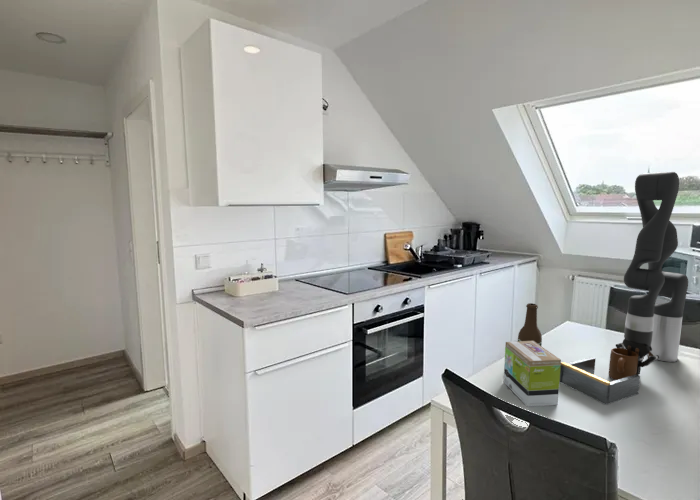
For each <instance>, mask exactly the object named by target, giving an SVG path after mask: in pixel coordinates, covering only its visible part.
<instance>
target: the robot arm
mask: <svg viewBox="0 0 700 500" xmlns="http://www.w3.org/2000/svg"><path fill="white" fill-rule="evenodd" d="M679 189H680V176H679V175H678V173H676V171H658V172H645V173H641V174H638V175H637V177H636V178H635V182H634V192H635V197H636V201H637V205H638V208H639V212H640V217H641V222H642V223H641V224H642V228H641V230H640V231H639V232H638V235H637V237H636V241H635V242H636V243H635V248H634V254H633V257H632V260H631V262H630V263H629V266H628V267H627V269H626V271H625V272H624V273H625V274H624V275H623V283H624V285H625V286H626V287H627V288H629V289H632V290H633V289H635V290H642V291H648V292H647V293H646V294H644V295H641V294H640V295H639V294H638V295H631V296H630V297H629V298H628V301H627V302H628V303H627V304H628V305H627V313H626V317H625V322H624V323H625V324H624V332H623V333H624V334H623V335H624V337H623V340H622V342H620V343H617V344H615V348H623V349H628V356H632V351H634V352H635V353H637V354H638V364H637V373H636V374H637V375H639V376H641V369H642V368H644V367H647V366H649V365H651V364H652V363H654V362H655V361H656V360H658V361H662V362H668V363H674V362H677V361H678V357H679V349H680V342H681V341H680V340H681V332H682V324H683V317H684V310H685V303H686V299H687V294H688V290H689V289H688V288H689V277H688V276H687V275H686V274H684V273H678V272H670V271H663V268H662V267H663V265H664V263H665V262H666V261H667V260H668V259H669V258H670V257H672V255H673V254H674V253H675V252H676V251H677V248H678V247H679V246H678V245H679V238H678V231H677V228H676V226H675V225H674V223H672V221H671V216H672V213H673V211H674V208H675V204H676V201H677V198H678V195H679ZM655 201H660V202H661V203H660V206H659V208H657V206H656V204H655ZM644 264H647V266H648V267H647V268H648V269H647V268H641V267H642V266H643V265H644ZM658 296H660V297H661V296H662V297H666V298H667V297H668V298H671V300H670V301H668V302H662V303H661V302H660V303H656V302H657V299H658ZM646 356H647V358H646V359H645V357H646Z"/></svg>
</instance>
